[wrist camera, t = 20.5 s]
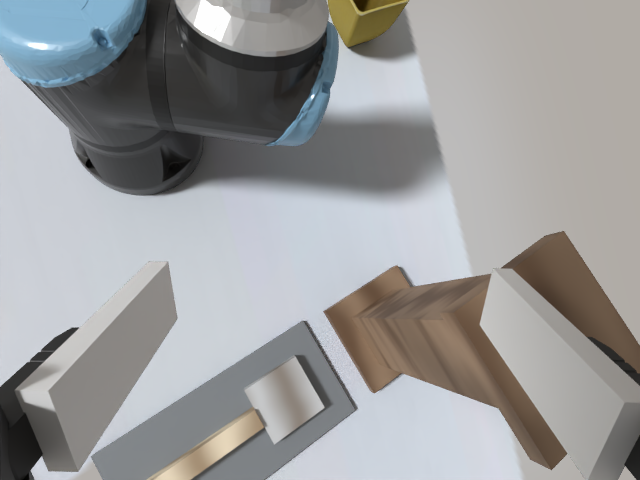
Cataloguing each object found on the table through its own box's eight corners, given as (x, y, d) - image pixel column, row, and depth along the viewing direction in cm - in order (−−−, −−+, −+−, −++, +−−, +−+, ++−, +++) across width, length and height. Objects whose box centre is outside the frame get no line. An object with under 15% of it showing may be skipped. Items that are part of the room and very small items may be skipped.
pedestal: (370, 390, 46) (550, 498, 19) (323, 311, 46) (431, 306, 20) (437, 340, 49) (670, 370, 22) (392, 266, 50) (564, 211, 23)
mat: (150, 564, 37) (148, 568, 36) (93, 454, 38) (90, 456, 37) (353, 408, 45) (355, 410, 44) (302, 320, 46) (303, 320, 45)
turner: (141, 536, 37) (136, 548, 35) (110, 476, 37) (103, 484, 35) (322, 404, 43) (325, 408, 41) (293, 355, 44) (296, 357, 42)
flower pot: (341, 61, 55) (359, 14, 47) (316, 16, 56) (329, -38, 48) (386, 47, 58) (411, 0, 49) (361, 3, 59) (382, -50, 50)
